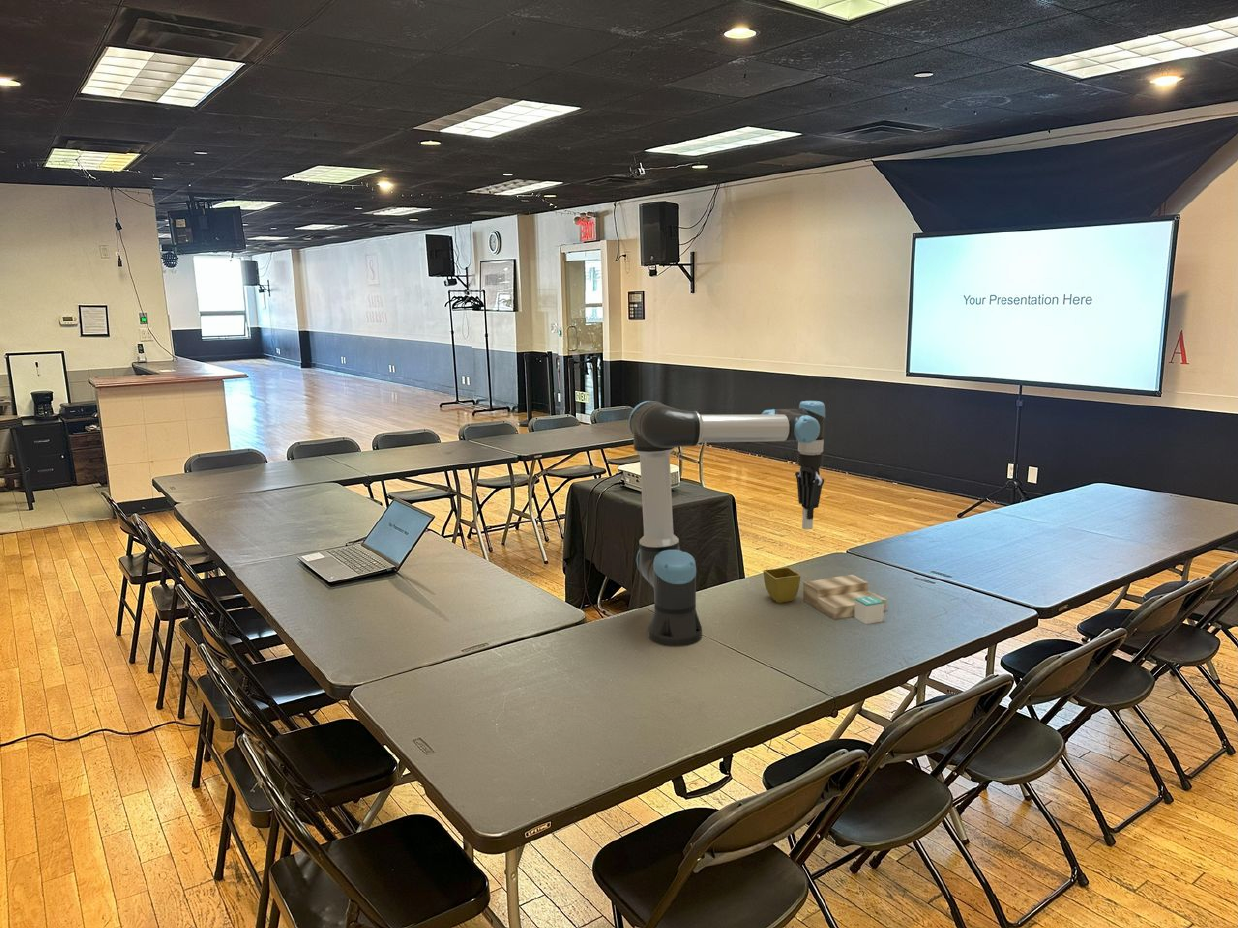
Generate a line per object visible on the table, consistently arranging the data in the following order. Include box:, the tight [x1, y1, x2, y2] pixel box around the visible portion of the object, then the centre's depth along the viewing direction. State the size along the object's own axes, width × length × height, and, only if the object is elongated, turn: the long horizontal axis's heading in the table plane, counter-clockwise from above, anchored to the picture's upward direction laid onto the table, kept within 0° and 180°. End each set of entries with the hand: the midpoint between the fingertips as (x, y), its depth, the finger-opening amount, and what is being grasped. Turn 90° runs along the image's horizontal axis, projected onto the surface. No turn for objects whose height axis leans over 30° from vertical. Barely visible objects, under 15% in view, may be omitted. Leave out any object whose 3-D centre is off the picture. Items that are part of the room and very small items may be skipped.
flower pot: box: [762, 566, 801, 604], centre depth 250 cm, size 9×9×9 cm
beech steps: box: [802, 574, 887, 620], centre depth 244 cm, size 18×17×6 cm
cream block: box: [853, 596, 885, 625], centre depth 233 cm, size 6×6×6 cm
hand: (807, 528), depth 244 cm, fingers closed
